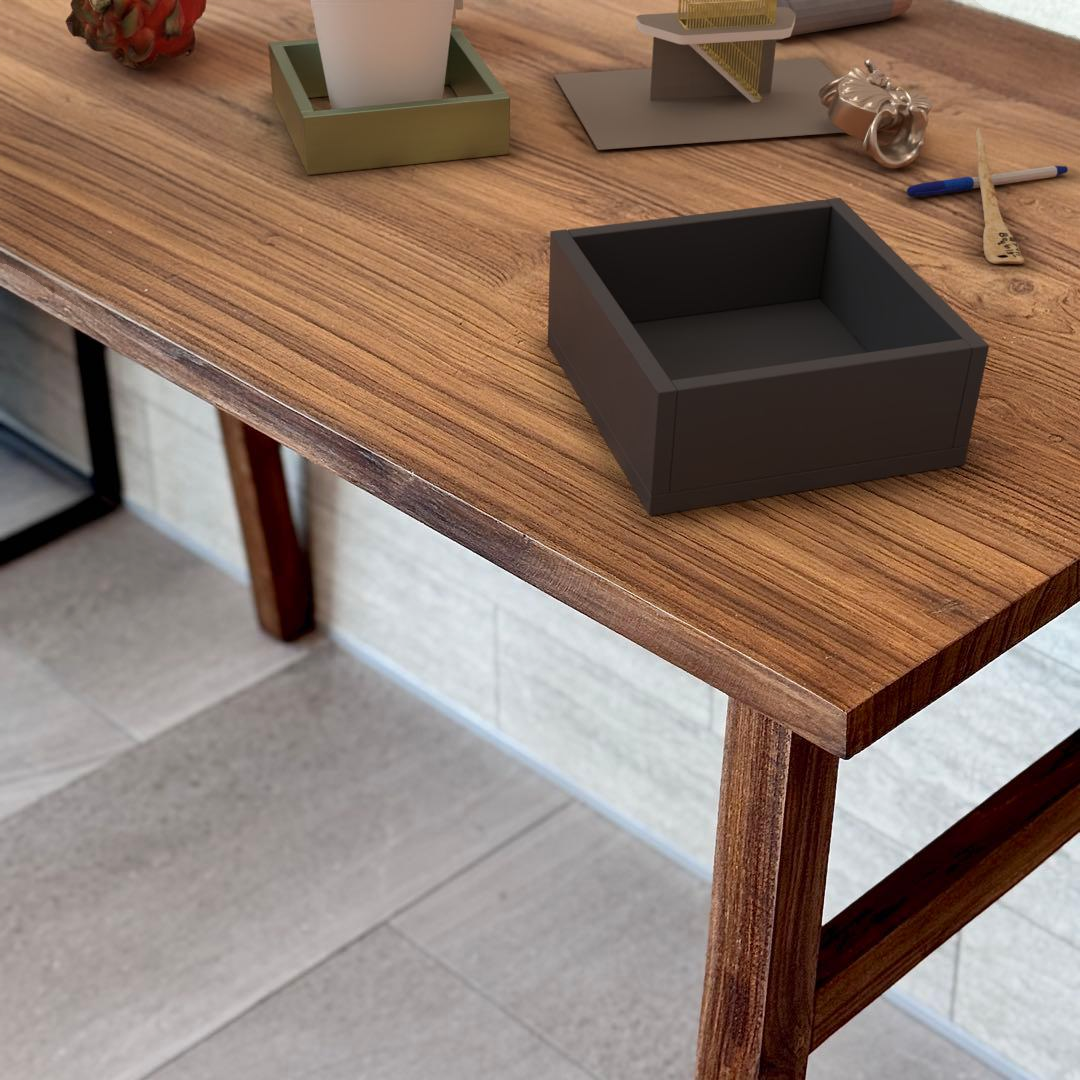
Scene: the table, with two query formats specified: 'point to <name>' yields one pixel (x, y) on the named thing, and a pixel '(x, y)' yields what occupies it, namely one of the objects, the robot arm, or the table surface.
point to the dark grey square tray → (759, 353)
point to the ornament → (878, 113)
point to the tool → (994, 216)
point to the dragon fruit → (136, 28)
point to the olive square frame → (390, 114)
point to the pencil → (840, 13)
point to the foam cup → (383, 49)
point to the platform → (705, 81)
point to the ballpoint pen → (973, 182)
